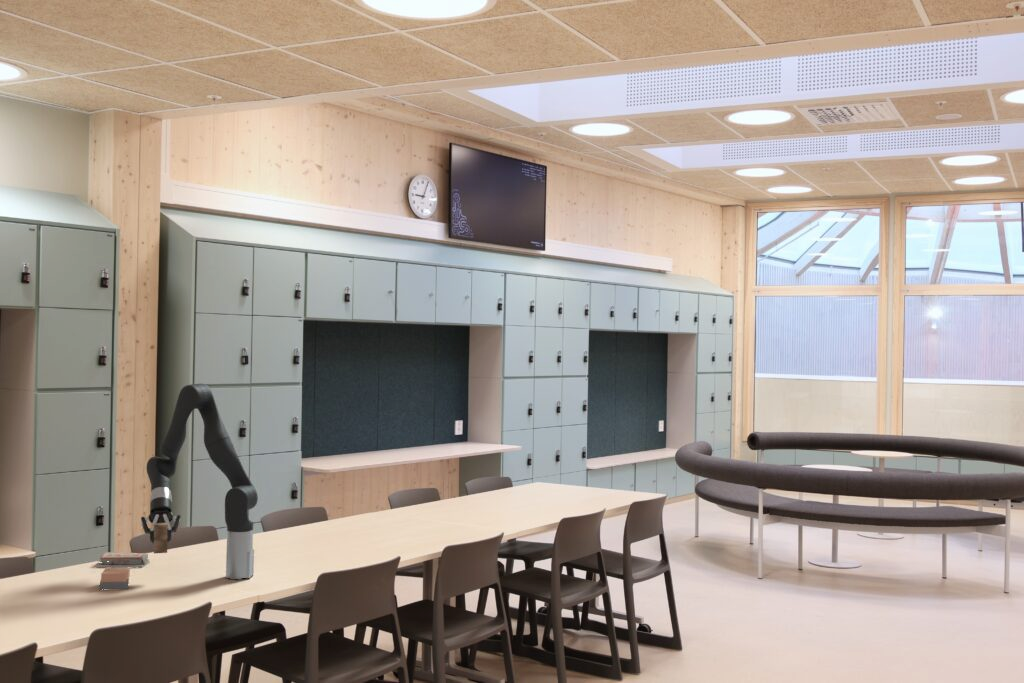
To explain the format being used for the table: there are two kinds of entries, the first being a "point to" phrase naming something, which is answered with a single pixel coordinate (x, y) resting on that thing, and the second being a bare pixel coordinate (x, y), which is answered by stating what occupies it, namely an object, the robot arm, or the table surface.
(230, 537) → the robot arm
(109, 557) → the packaged product
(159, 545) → the brown block
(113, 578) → the upper slab
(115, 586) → the lower slab
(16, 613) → the table surface
